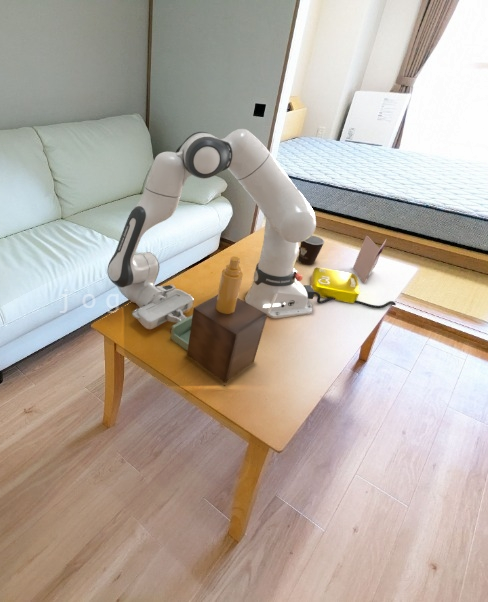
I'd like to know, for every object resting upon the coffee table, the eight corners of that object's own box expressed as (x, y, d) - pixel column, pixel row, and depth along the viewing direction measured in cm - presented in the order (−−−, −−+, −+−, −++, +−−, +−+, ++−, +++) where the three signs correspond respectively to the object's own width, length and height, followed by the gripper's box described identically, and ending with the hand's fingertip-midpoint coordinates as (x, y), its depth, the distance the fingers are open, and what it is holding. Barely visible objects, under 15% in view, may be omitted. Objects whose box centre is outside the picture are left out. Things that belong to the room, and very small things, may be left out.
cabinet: (186, 357, 109) (193, 307, 98) (215, 339, 116) (224, 290, 105) (224, 386, 100) (236, 334, 90) (253, 364, 107) (267, 314, 96)
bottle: (232, 302, 101) (242, 253, 92) (237, 313, 96) (248, 263, 88) (213, 302, 100) (222, 253, 92) (217, 314, 96) (227, 263, 88)
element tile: (355, 304, 131) (360, 293, 129) (310, 295, 136) (314, 284, 133) (352, 283, 143) (357, 273, 140) (311, 275, 147) (314, 265, 145)
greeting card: (366, 284, 142) (382, 249, 134) (345, 277, 146) (360, 243, 137) (373, 272, 149) (389, 239, 141) (353, 266, 153) (367, 233, 145)
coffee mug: (320, 266, 153) (328, 244, 147) (299, 266, 153) (306, 244, 147) (309, 253, 163) (316, 232, 157) (289, 252, 163) (295, 231, 157)
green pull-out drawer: (165, 336, 116) (166, 322, 113) (188, 323, 122) (189, 309, 118) (203, 364, 106) (206, 350, 103) (226, 349, 112) (229, 334, 108)
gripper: (129, 304, 116) (159, 326, 107) (175, 282, 127) (206, 301, 118) (129, 320, 120) (158, 343, 111) (174, 297, 130) (204, 316, 122)
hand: (183, 321), depth 115 cm, fingers closed, pressing on green pull-out drawer
